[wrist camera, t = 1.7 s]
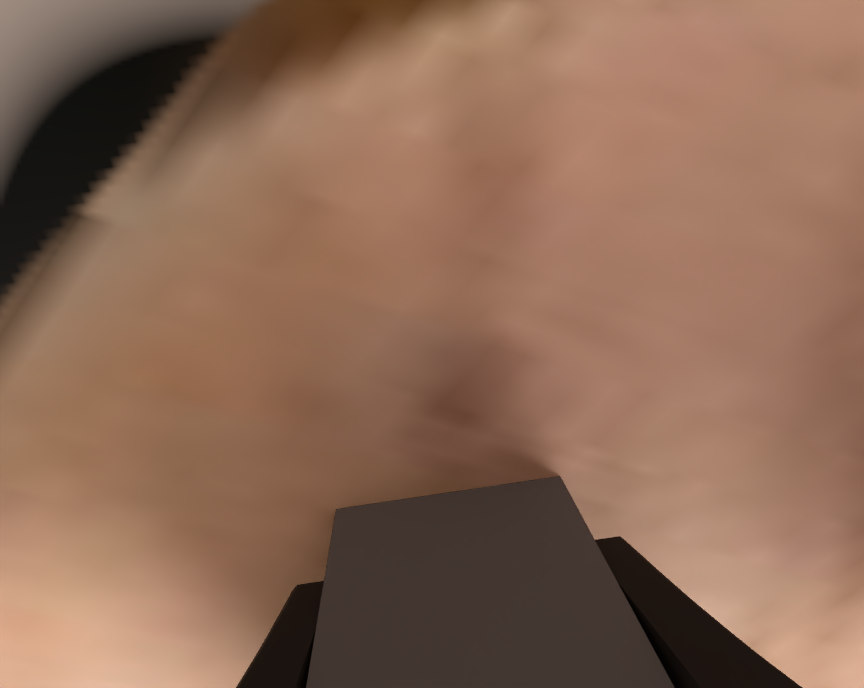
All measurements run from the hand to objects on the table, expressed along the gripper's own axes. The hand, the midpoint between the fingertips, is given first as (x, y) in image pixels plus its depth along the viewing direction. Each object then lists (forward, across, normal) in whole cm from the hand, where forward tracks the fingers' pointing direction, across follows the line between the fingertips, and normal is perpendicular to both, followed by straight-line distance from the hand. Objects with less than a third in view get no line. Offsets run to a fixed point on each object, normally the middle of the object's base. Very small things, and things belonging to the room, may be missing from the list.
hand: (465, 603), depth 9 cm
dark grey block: (+2, 0, +2) cm, 3 cm away
